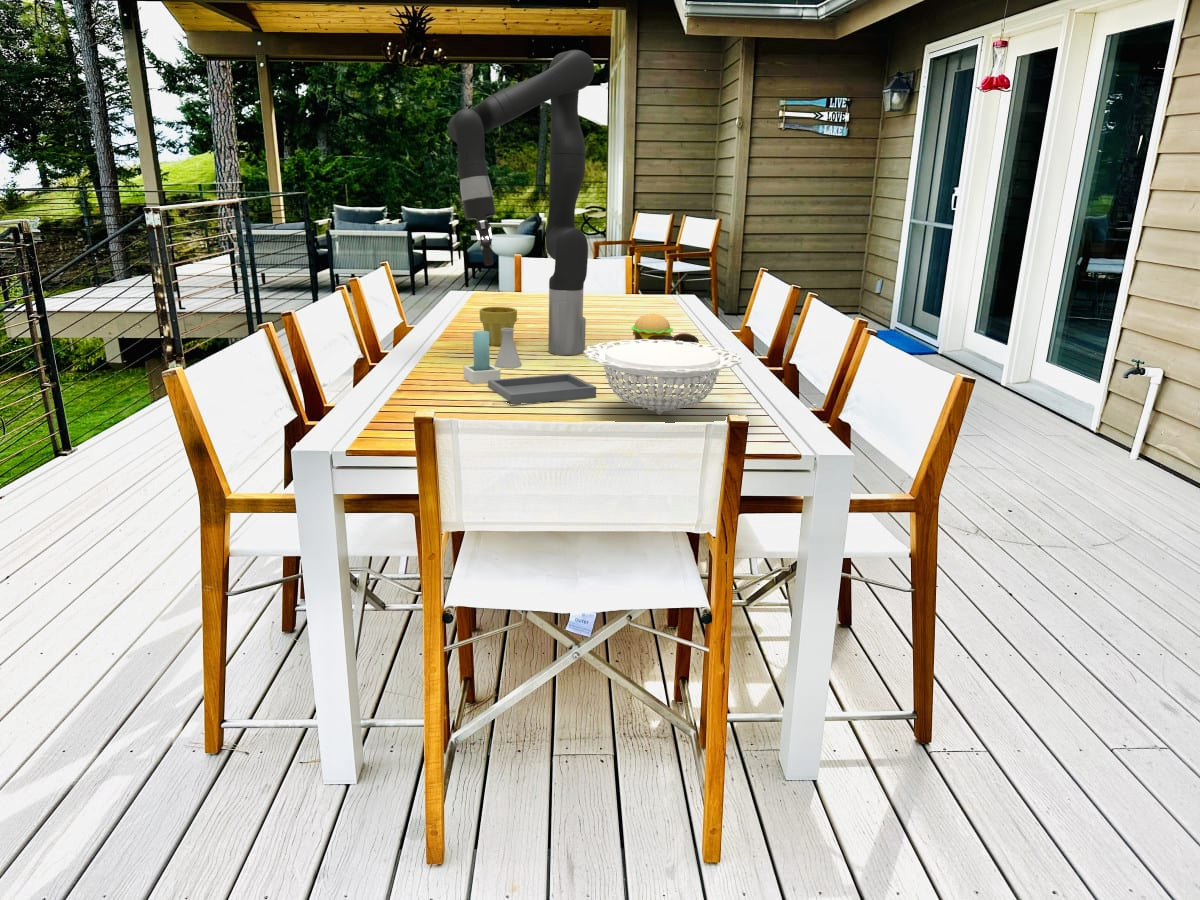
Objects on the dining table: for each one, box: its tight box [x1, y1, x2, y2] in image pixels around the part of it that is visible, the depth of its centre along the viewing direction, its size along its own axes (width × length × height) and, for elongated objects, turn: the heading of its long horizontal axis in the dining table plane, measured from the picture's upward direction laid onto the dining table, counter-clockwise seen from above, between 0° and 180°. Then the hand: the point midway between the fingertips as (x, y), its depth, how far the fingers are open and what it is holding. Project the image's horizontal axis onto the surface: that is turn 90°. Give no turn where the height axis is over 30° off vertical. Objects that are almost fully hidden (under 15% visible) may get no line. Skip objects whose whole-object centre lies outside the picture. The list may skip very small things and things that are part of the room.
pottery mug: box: [663, 332, 700, 345], centre depth 227 cm, size 12×10×8 cm
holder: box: [462, 364, 501, 385], centre depth 196 cm, size 7×7×4 cm
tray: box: [487, 373, 597, 405], centre depth 188 cm, size 20×14×2 cm
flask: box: [493, 328, 523, 370], centre depth 210 cm, size 7×7×10 cm
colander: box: [583, 339, 743, 415], centre depth 173 cm, size 32×32×13 cm
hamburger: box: [631, 313, 674, 343], centre depth 247 cm, size 12×12×9 cm
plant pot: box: [479, 306, 518, 346], centre depth 240 cm, size 10×10×10 cm
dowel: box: [472, 330, 491, 371], centre depth 195 cm, size 4×4×11 cm
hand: (489, 265), depth 210 cm, fingers open, 8 cm apart
